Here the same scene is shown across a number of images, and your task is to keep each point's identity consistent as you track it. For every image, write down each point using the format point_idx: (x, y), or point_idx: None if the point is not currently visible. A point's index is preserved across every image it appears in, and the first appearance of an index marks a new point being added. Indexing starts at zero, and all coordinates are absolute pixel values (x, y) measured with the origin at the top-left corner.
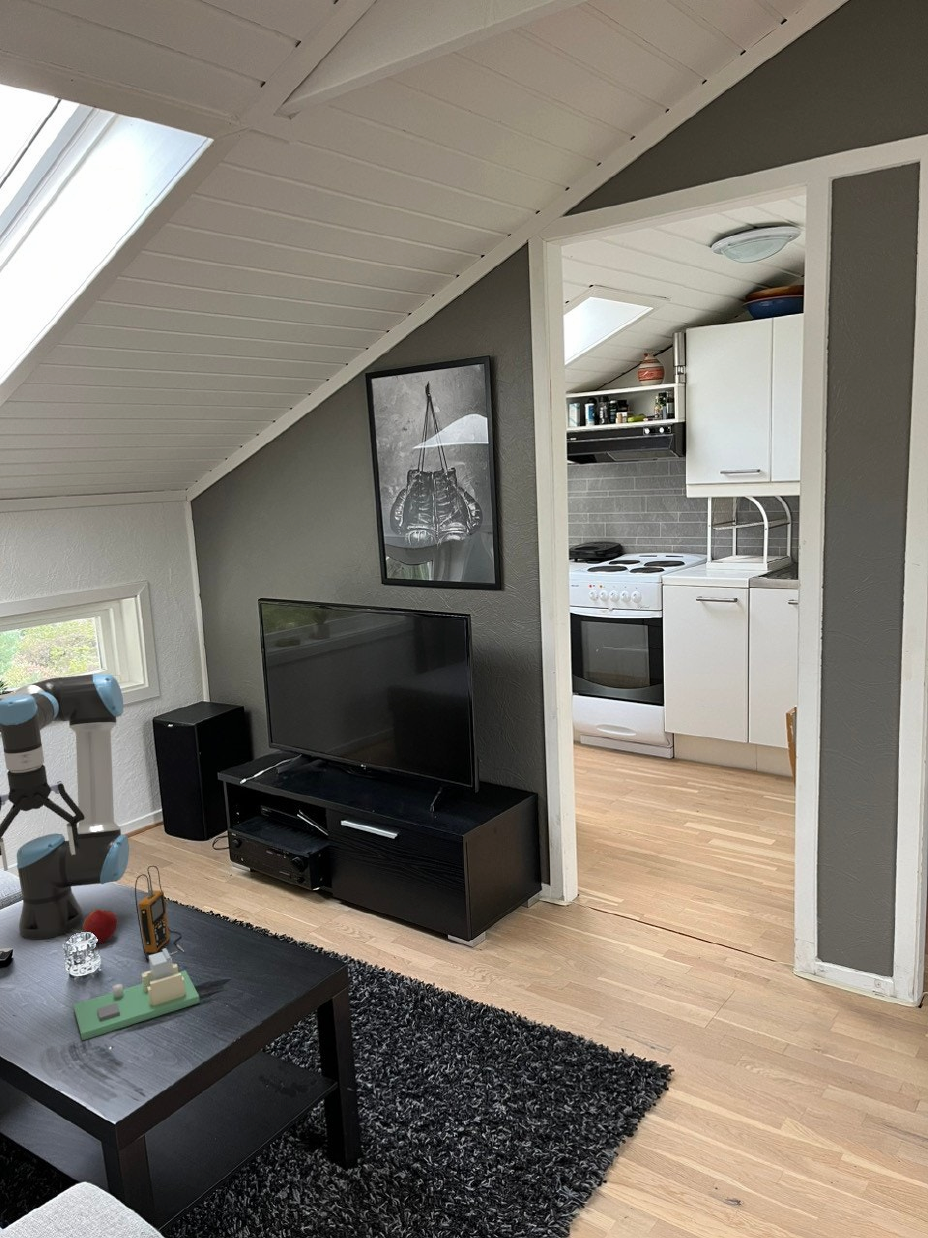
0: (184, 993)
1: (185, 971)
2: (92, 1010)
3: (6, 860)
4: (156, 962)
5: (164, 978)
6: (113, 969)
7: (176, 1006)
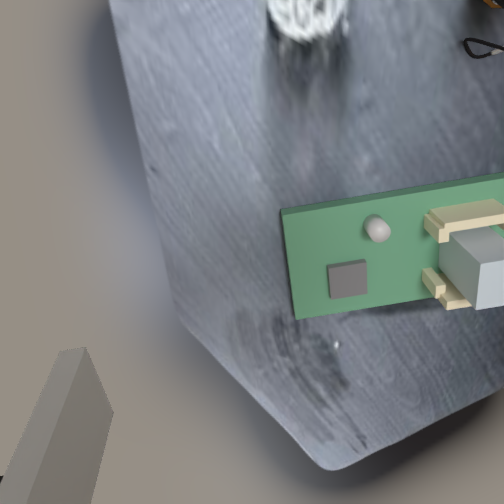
0: None
1: None
2: (318, 254)
3: (96, 476)
4: (486, 301)
5: None
6: (376, 45)
7: None
